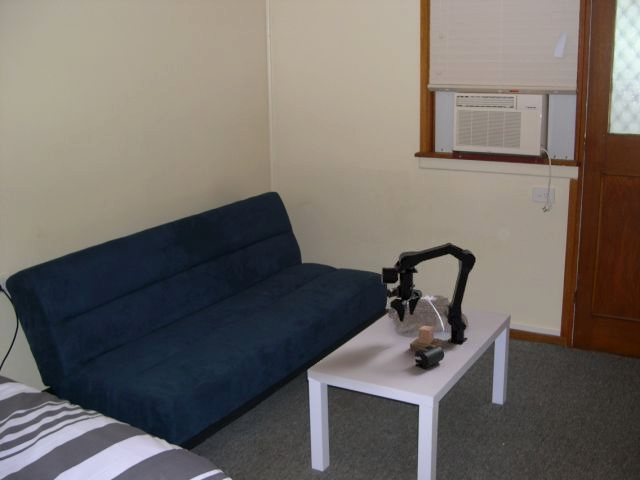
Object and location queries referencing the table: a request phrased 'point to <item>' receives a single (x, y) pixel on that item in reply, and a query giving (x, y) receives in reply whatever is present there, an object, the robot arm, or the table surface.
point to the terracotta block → (426, 334)
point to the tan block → (421, 346)
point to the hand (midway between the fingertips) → (406, 318)
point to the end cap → (429, 356)
